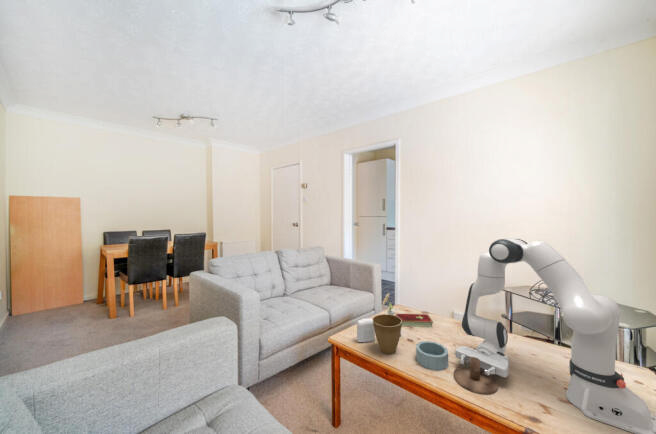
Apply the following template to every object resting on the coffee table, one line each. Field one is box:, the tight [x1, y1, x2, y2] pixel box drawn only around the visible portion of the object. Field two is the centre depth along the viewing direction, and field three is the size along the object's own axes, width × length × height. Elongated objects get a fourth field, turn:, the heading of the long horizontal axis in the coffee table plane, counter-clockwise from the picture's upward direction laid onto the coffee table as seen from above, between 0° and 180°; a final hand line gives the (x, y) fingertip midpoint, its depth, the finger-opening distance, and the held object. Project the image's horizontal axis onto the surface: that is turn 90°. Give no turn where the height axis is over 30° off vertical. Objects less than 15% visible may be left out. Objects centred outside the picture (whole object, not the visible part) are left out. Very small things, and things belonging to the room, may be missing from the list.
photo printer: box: [356, 318, 376, 343], centre depth 141 cm, size 10×4×12 cm, turn 103°
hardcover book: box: [395, 313, 434, 328], centre depth 162 cm, size 12×21×4 cm, turn 83°
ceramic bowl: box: [415, 340, 449, 371], centre depth 120 cm, size 14×14×6 cm
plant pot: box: [372, 313, 402, 355], centre depth 131 cm, size 15×15×16 cm
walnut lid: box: [453, 357, 499, 396], centre depth 106 cm, size 16×16×9 cm
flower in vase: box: [382, 293, 402, 335], centre depth 147 cm, size 13×11×25 cm
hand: (473, 367), depth 105 cm, fingers open, 8 cm apart
